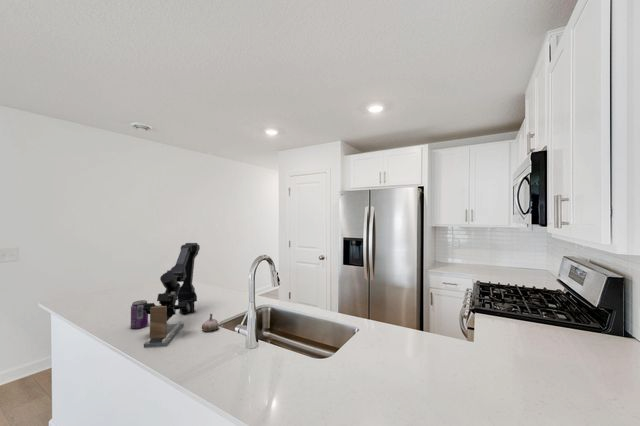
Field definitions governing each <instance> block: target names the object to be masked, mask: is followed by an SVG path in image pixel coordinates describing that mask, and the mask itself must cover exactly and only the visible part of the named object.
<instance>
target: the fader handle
mask: <svg viewBox="0 0 640 426" xmlns="http://www.w3.org/2000/svg"><path fill="white" fill-rule="evenodd" d="M167 322H168V321H167V306H157V305H156V307H151V308H150V314H149V338H150V339H151V343H154V342H162V340H163V339H164V338H165V337H166V335H167Z"/></svg>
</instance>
